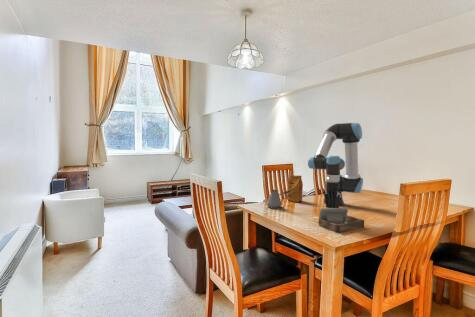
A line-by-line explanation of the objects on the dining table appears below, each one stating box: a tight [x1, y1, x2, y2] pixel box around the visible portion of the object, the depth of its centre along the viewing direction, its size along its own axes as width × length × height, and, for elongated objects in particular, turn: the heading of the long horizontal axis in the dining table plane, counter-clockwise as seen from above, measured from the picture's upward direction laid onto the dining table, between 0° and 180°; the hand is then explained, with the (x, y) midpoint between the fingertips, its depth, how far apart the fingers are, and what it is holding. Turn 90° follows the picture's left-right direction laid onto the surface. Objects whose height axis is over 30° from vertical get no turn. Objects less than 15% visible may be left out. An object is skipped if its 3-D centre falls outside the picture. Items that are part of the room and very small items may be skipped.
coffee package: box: [286, 174, 304, 203], centre depth 216 cm, size 10×12×22 cm
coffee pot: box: [266, 189, 293, 209], centre depth 191 cm, size 21×12×15 cm, turn 46°
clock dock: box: [318, 214, 365, 234], centre depth 149 cm, size 14×22×4 cm, turn 118°
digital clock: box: [317, 207, 349, 225], centre depth 151 cm, size 16×9×11 cm, turn 79°
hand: (331, 220), depth 156 cm, fingers closed
